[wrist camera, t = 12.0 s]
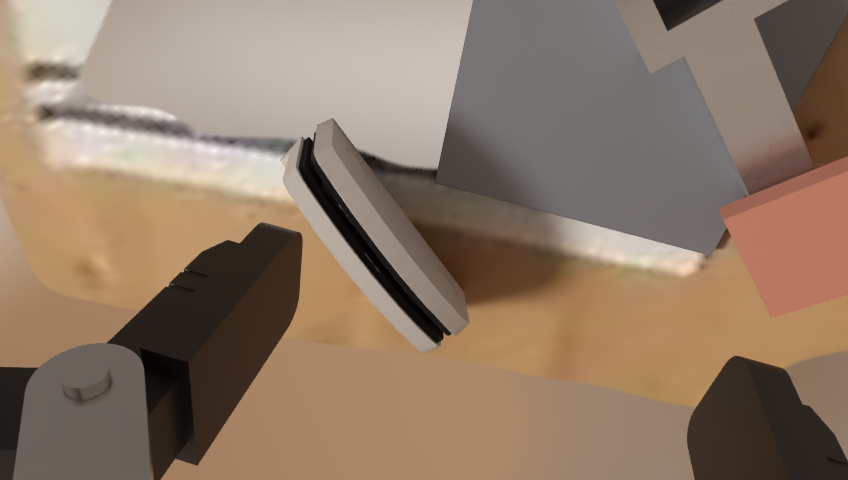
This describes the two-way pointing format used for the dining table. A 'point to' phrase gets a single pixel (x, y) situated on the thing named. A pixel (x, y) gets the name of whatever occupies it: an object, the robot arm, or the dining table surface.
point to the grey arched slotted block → (373, 238)
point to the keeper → (795, 238)
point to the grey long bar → (726, 81)
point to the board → (604, 116)
